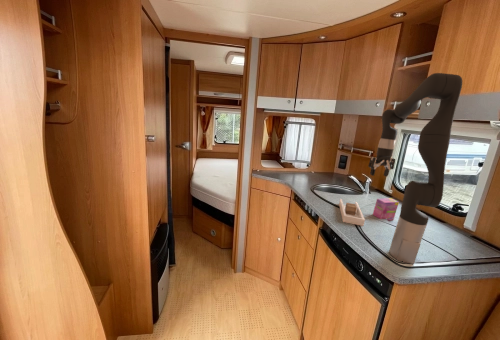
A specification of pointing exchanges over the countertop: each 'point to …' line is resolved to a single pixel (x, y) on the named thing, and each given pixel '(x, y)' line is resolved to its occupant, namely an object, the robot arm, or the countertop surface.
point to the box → (385, 208)
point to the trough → (353, 219)
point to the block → (350, 208)
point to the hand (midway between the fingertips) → (378, 175)
